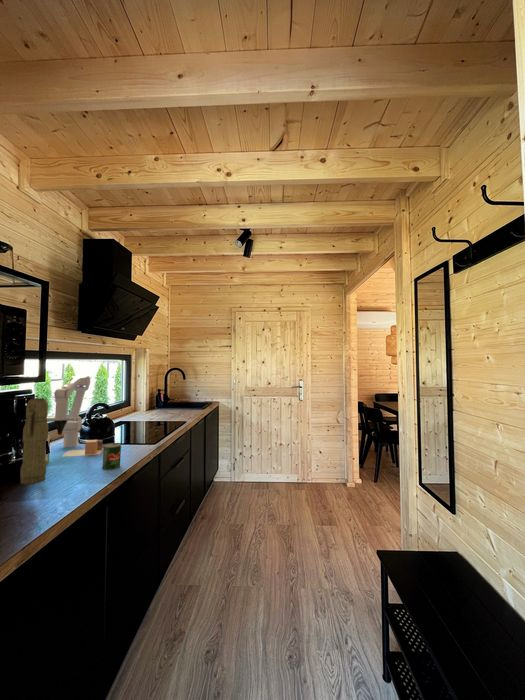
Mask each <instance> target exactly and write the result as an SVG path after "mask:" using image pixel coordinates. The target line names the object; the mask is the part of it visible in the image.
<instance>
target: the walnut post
mask: <svg viewBox="0 0 525 700" xmlns="http://www.w3.org/2000/svg"><path fill="white" fill-rule="evenodd" d="M97 440H98V444H97V450H102V449H103V441H104V440H101V439H97ZM102 451H103V450H102Z"/></svg>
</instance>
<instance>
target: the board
mask: <svg viewBox="0 0 525 700" xmlns="http://www.w3.org/2000/svg"><path fill="white" fill-rule="evenodd" d="M101 453H103V448H102V450H97V452H96V454H86V455H85V449H71V450H67V451H66V452H65V453H64V454H63V455H62V457H64V458H65V457H79V456H81V457H82V456H92V455H93V456H94V455H95V456H96V455H101Z"/></svg>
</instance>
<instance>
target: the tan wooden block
mask: <svg viewBox="0 0 525 700" xmlns="http://www.w3.org/2000/svg"><path fill="white" fill-rule="evenodd" d="M98 440H99V439H87V440H86V441H85V442H84V450H85V455H84V456H87V455H86V454H96V452H97V444H98Z"/></svg>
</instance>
